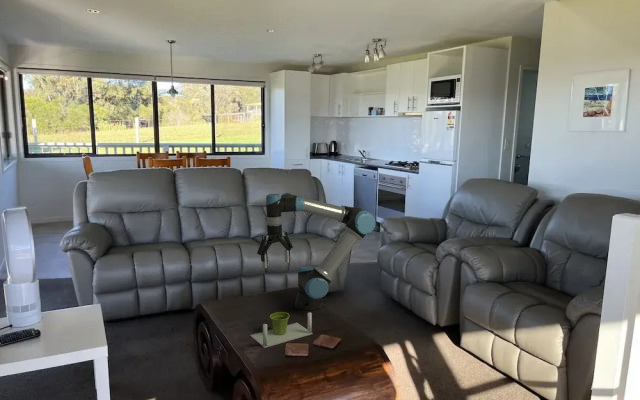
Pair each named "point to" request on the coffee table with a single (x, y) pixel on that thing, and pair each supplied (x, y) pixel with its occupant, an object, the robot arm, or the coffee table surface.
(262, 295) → the coffee table surface
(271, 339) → the mat
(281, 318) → the plant pot
